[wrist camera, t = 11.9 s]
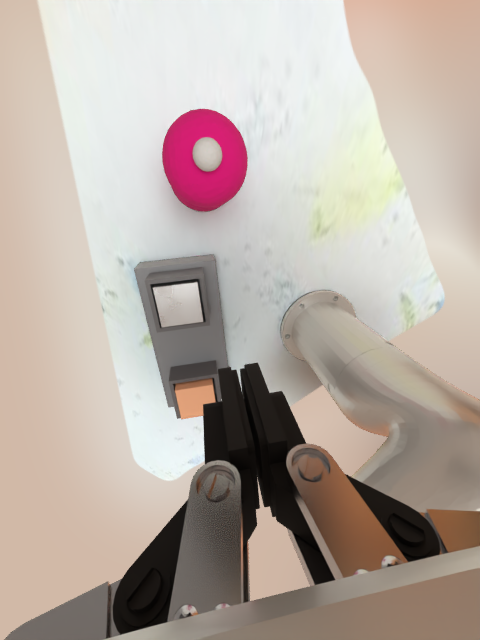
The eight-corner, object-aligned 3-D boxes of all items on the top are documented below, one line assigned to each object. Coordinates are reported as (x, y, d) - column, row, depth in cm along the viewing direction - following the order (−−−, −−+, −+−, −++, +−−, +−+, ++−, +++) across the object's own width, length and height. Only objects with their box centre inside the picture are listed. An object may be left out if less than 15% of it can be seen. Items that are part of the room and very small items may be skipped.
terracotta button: (215, 399, 40) (217, 413, 38) (182, 404, 40) (181, 419, 37) (211, 371, 38) (212, 384, 36) (176, 377, 38) (174, 390, 35)
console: (228, 381, 46) (234, 412, 40) (170, 391, 45) (166, 424, 39) (213, 254, 37) (217, 265, 30) (140, 262, 36) (127, 276, 29)
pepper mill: (191, 220, 35) (187, 240, 17) (160, 164, 32) (113, 115, 14) (240, 193, 35) (287, 183, 17) (212, 133, 32) (234, 41, 14)
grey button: (202, 312, 35) (203, 321, 33) (164, 317, 35) (161, 327, 32) (197, 275, 33) (197, 282, 30) (156, 280, 33) (152, 287, 30)
